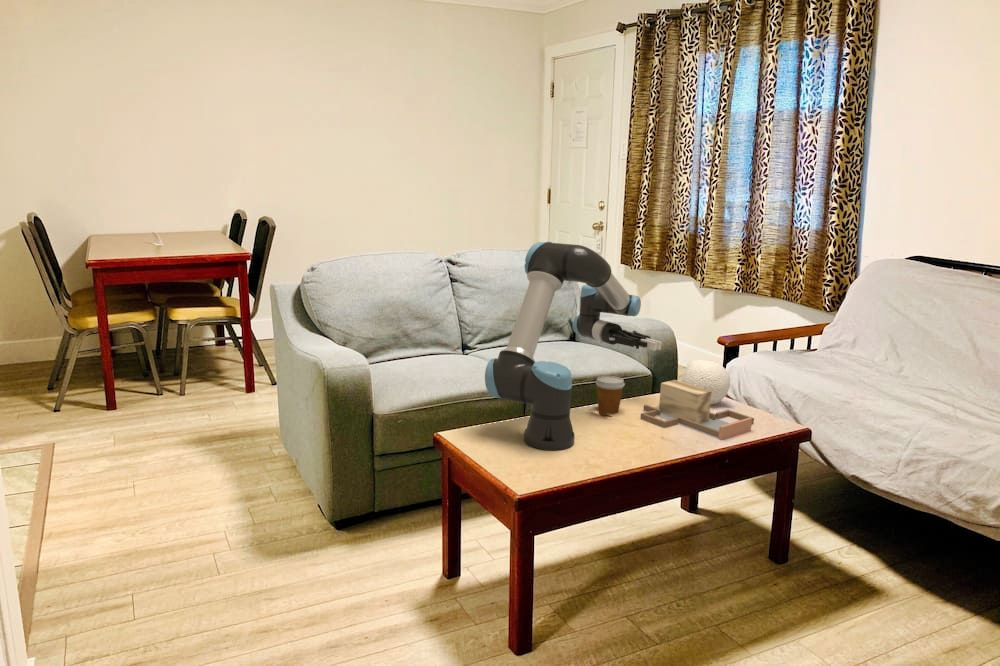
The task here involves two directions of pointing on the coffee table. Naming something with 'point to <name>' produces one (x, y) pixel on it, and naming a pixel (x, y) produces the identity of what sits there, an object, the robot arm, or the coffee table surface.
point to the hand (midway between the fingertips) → (658, 346)
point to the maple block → (685, 401)
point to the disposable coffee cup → (609, 394)
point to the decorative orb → (708, 378)
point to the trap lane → (709, 428)
